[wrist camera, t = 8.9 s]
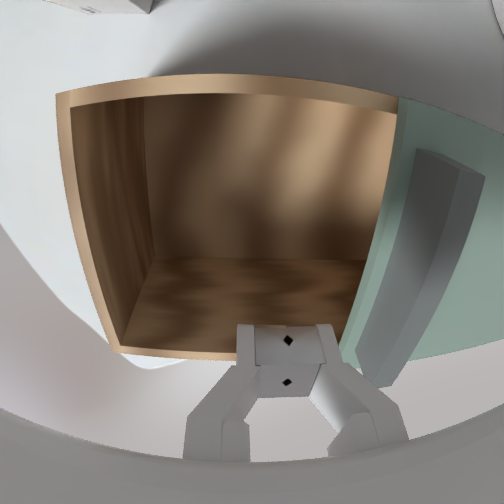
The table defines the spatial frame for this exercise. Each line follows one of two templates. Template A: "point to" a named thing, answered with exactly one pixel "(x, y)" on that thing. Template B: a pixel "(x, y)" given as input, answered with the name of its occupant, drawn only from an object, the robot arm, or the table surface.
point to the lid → (432, 247)
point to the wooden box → (222, 204)
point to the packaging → (107, 6)
